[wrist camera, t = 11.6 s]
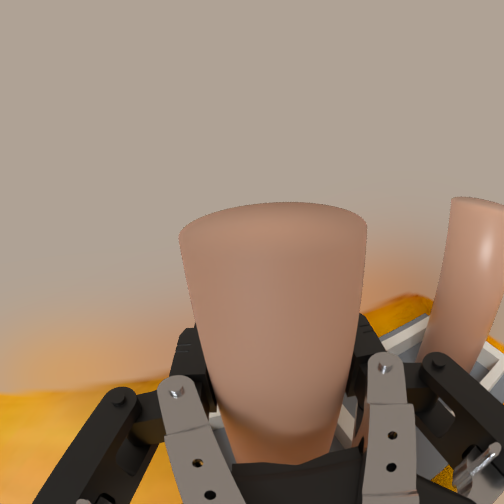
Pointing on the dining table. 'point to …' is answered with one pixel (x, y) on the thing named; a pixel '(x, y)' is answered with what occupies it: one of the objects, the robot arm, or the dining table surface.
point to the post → (277, 321)
